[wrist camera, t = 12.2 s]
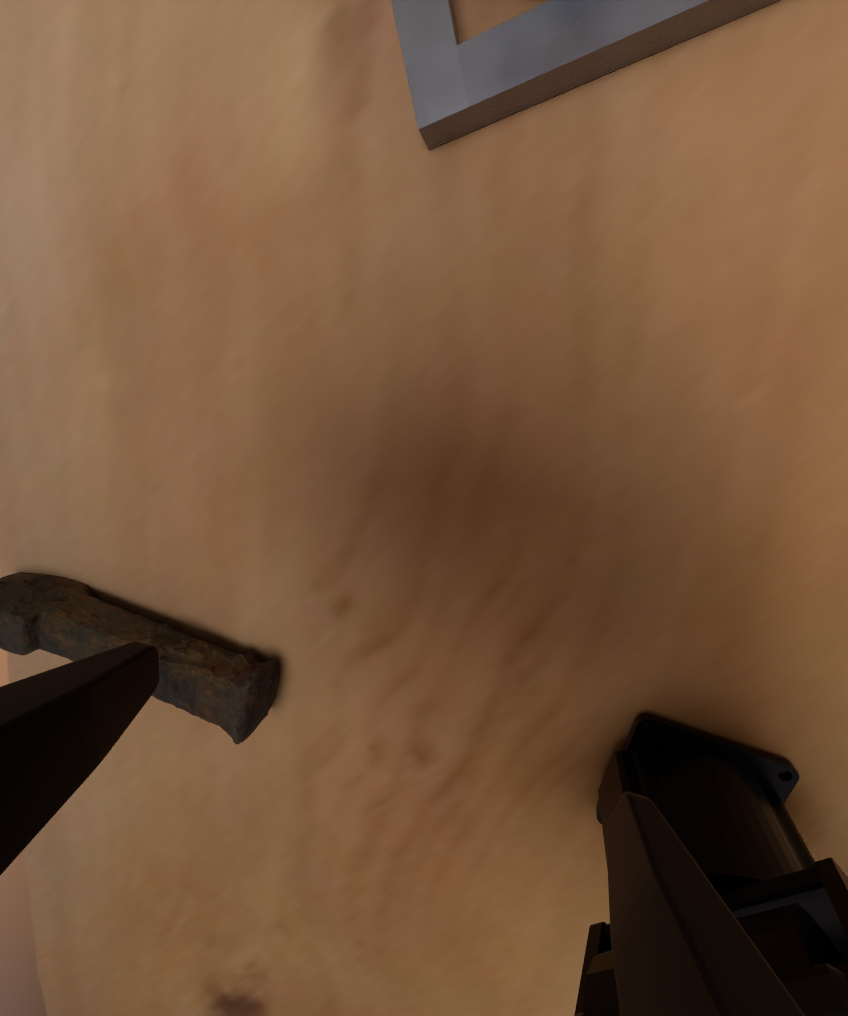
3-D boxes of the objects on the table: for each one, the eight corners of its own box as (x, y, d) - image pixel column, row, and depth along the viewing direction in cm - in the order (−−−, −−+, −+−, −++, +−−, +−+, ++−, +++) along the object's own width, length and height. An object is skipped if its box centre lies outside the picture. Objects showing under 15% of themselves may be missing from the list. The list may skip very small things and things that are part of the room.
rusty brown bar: (291, 652, 25) (238, 707, 21) (279, 707, 27) (226, 770, 22) (23, 533, 28) (-72, 560, 24) (23, 588, 30) (-67, 623, 25)
